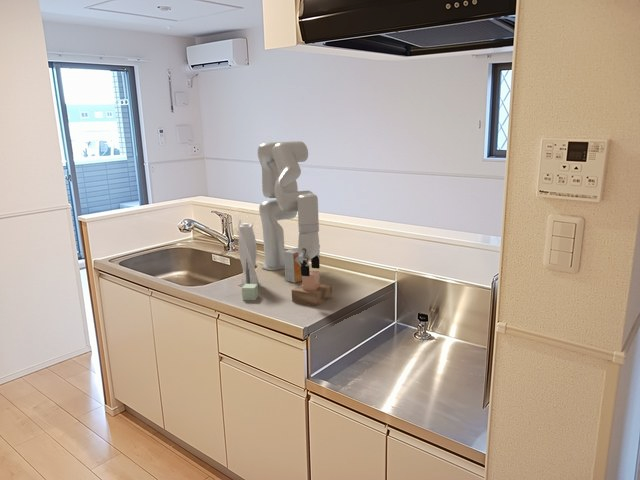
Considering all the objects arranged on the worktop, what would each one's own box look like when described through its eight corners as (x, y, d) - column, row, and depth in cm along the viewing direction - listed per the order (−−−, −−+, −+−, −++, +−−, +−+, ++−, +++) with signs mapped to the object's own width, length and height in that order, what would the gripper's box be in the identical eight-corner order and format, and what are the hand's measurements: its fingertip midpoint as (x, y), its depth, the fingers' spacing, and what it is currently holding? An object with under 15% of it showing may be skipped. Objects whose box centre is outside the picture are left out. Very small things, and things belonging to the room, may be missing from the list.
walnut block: (308, 293, 200) (307, 281, 199) (332, 297, 194) (331, 285, 193) (292, 302, 191) (291, 290, 190) (316, 307, 185) (315, 294, 184)
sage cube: (246, 295, 200) (245, 283, 198) (258, 295, 199) (257, 283, 198) (242, 300, 195) (241, 288, 194) (255, 300, 194) (254, 288, 193)
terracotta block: (307, 285, 194) (306, 270, 193) (319, 286, 193) (319, 271, 191) (302, 289, 190) (302, 274, 188) (315, 290, 188) (314, 275, 187)
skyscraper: (236, 285, 214) (230, 220, 207) (250, 280, 219) (246, 217, 213) (248, 289, 208) (243, 222, 202) (263, 284, 214) (259, 219, 207)
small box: (294, 283, 212) (293, 253, 209) (285, 280, 217) (283, 251, 214) (308, 278, 218) (307, 249, 215) (299, 275, 222) (297, 247, 219)
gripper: (308, 222, 195) (310, 264, 199) (289, 232, 180) (291, 278, 184) (326, 223, 192) (328, 266, 197) (308, 233, 177) (310, 279, 181)
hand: (310, 271), depth 190 cm, fingers open, 9 cm apart
